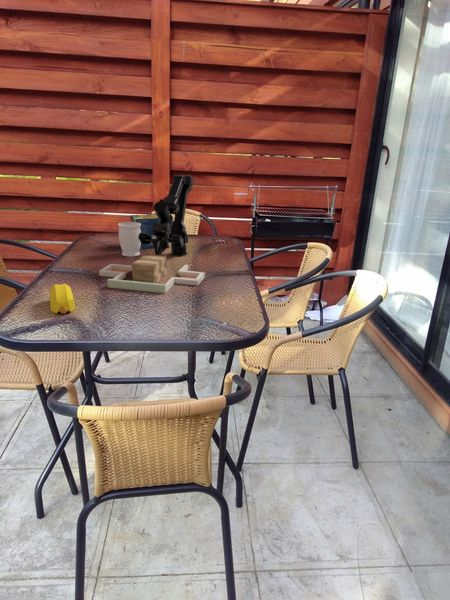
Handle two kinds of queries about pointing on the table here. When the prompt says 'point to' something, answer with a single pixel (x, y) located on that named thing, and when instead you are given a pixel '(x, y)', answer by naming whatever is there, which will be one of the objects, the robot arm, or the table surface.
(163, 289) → the white flat frame
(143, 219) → the protein box
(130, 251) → the jar
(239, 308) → the table surface
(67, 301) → the yellow arch block
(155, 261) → the oak block
